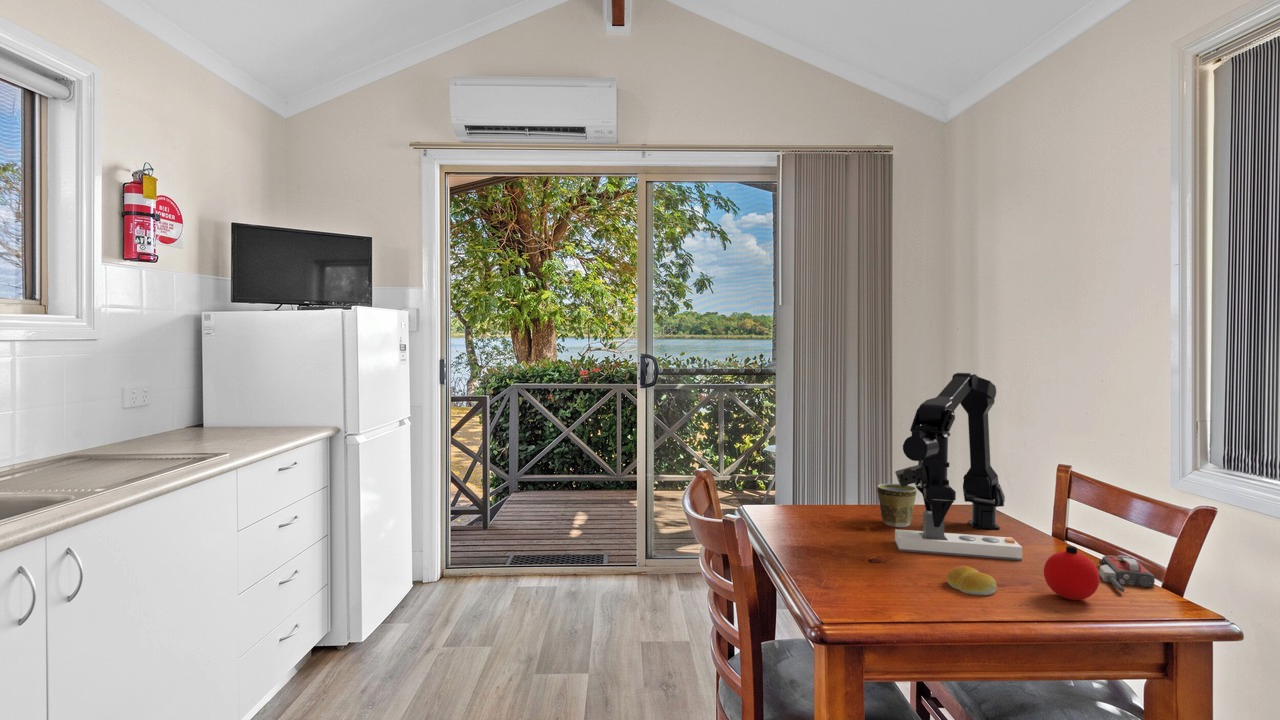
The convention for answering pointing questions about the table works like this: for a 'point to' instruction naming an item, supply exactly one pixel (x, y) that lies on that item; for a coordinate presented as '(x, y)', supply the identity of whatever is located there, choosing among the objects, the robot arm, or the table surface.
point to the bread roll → (971, 581)
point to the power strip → (959, 545)
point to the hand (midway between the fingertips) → (933, 522)
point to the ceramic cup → (896, 504)
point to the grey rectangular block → (932, 527)
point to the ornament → (1071, 574)
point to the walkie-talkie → (1125, 572)
